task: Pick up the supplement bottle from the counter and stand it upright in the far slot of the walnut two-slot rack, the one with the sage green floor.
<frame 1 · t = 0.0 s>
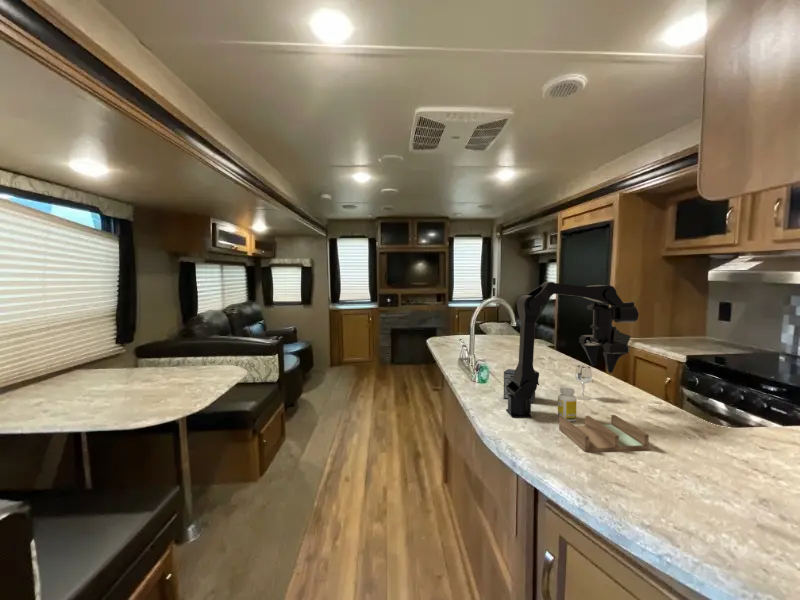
hand: (601, 368, 121), 15 cm above the countertop, tool pointing down, fingers open, 9 cm apart
slot rack: (600, 439, 101), on the countertop
supplement bottle: (566, 419, 116), on the countertop
wineglass: (583, 398, 135), on the countertop
small box: (519, 399, 136), on the countertop
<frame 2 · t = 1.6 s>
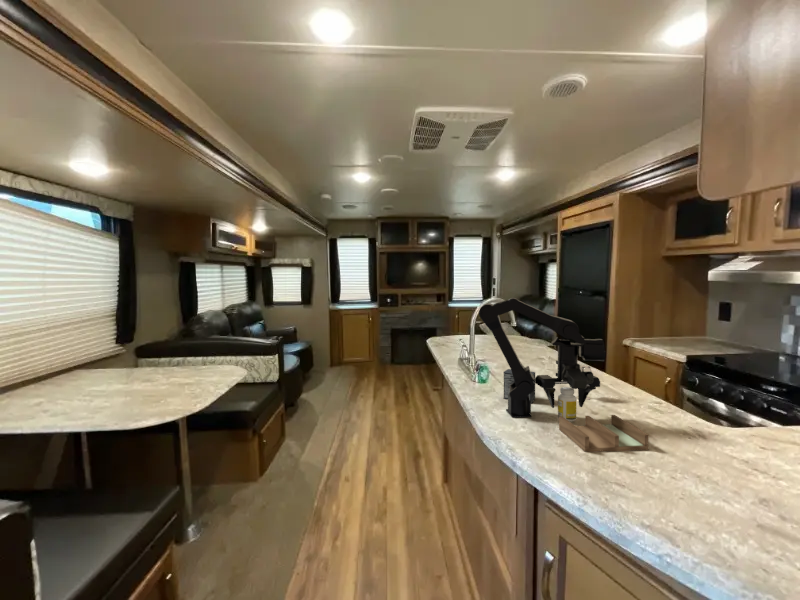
hand: (566, 407, 116), 4 cm above the countertop, tool pointing down, fingers open, 9 cm apart
nothing on the countertop moved.
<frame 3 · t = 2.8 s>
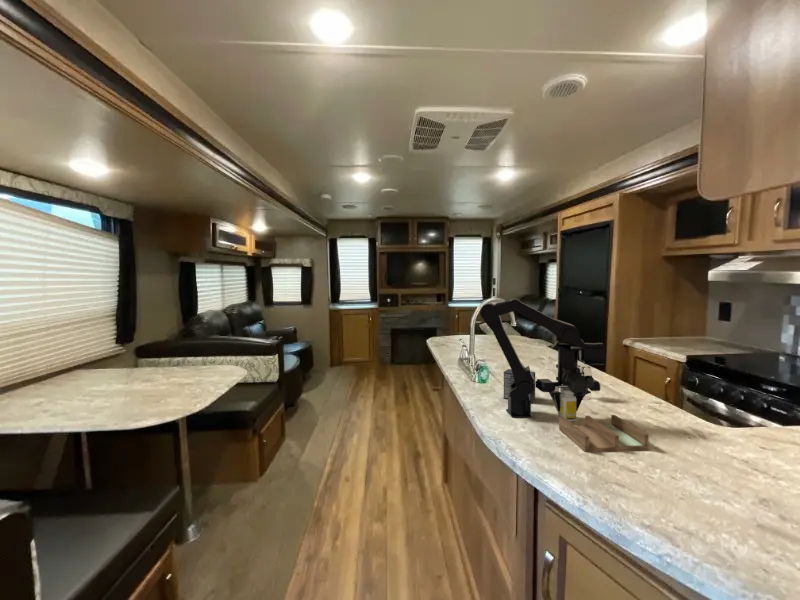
hand: (567, 411, 116), 3 cm above the countertop, tool pointing down, fingers closed on supplement bottle, 5 cm apart
supplement bottle: (566, 419, 116), on the countertop, touching gripper
everything else where it was.
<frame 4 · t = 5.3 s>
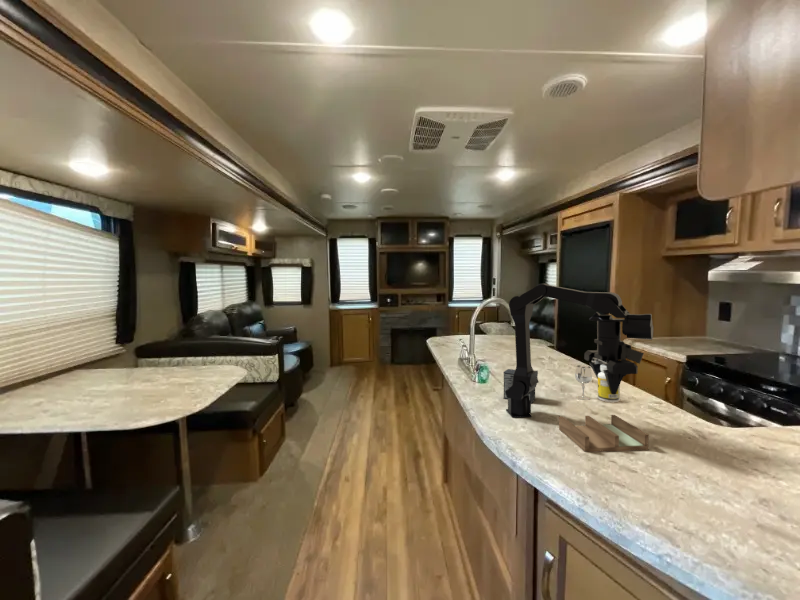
hand: (608, 391, 103), 13 cm above the countertop, tool pointing down, fingers closed on supplement bottle, 5 cm apart
supplement bottle: (608, 400, 103), point 10 cm above the countertop, touching gripper
everything else where it was.
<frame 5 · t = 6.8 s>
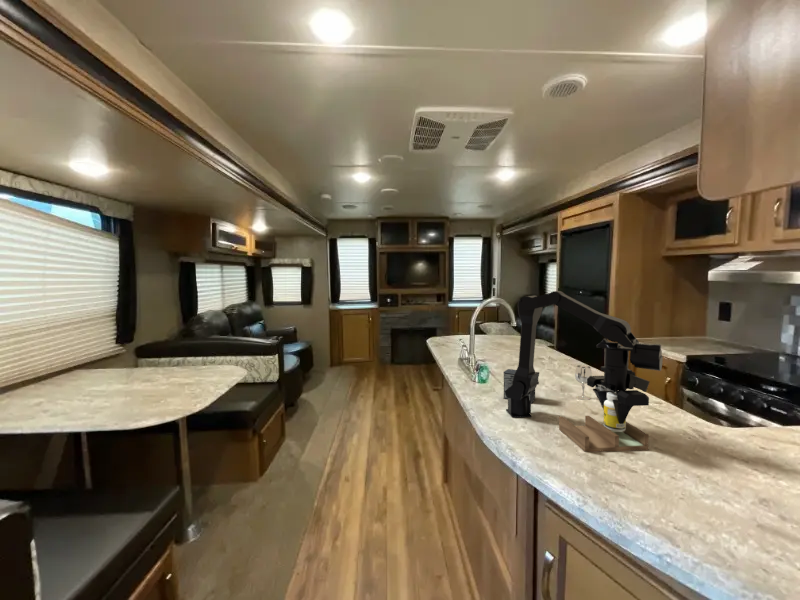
hand: (614, 419, 101), 5 cm above the countertop, tool pointing down, fingers closed on supplement bottle, 5 cm apart
supplement bottle: (614, 428, 101), point 3 cm above the countertop, touching gripper
everything else where it was.
when the fingers open (5 cm above the countertop, at t = 7.8 s): supplement bottle stays where it is, resting on slot rack.
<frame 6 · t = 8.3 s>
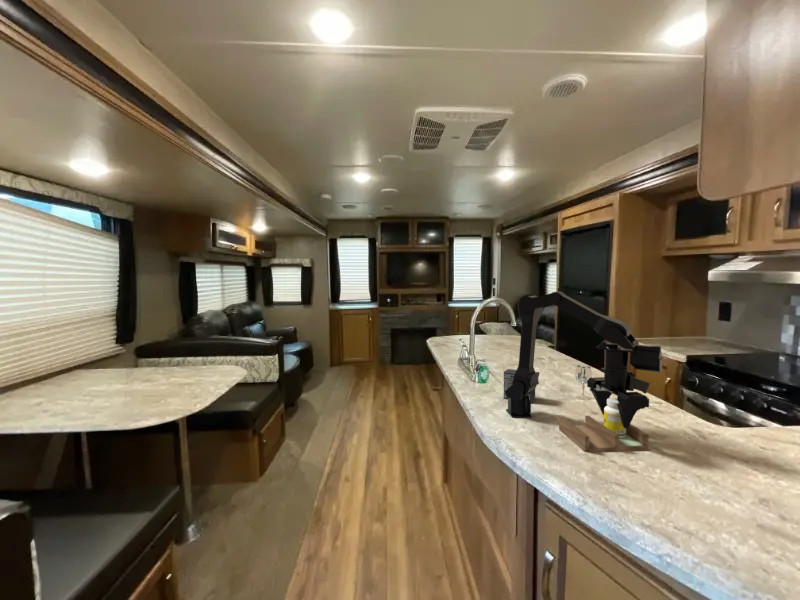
hand: (614, 421, 101), 5 cm above the countertop, tool pointing down, fingers open, 9 cm apart
supplement bottle: (614, 435, 101), point 1 cm above the countertop, touching slot rack
everything else where it was.
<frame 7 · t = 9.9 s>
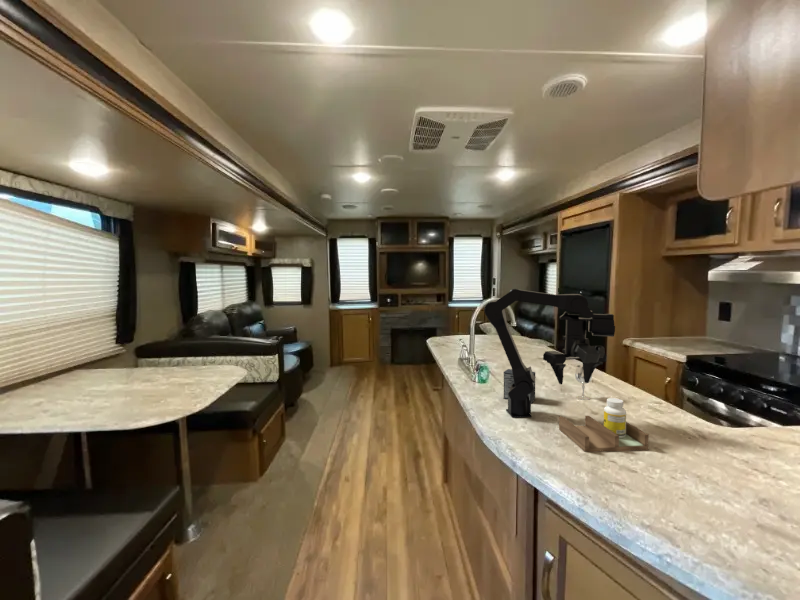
hand: (573, 383, 113), 12 cm above the countertop, tool pointing down, fingers open, 9 cm apart
nothing on the countertop moved.
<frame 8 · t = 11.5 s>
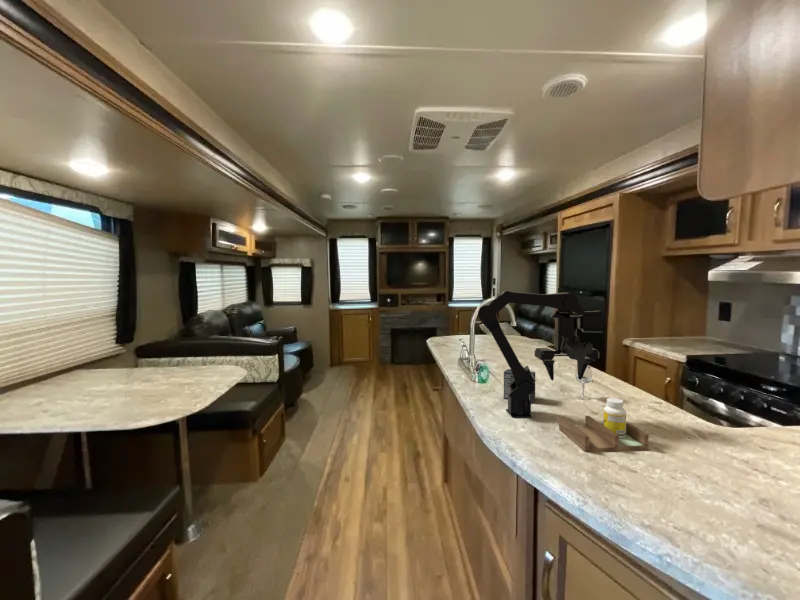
hand: (566, 379, 116), 13 cm above the countertop, tool pointing down, fingers open, 9 cm apart
nothing on the countertop moved.
at the end: supplement bottle inside the target area on the slot rack (0.0 cm from its centre), point 1.0 cm above the slot rack's base; supplement bottle tilted 0°; the gripper is holding nothing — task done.
